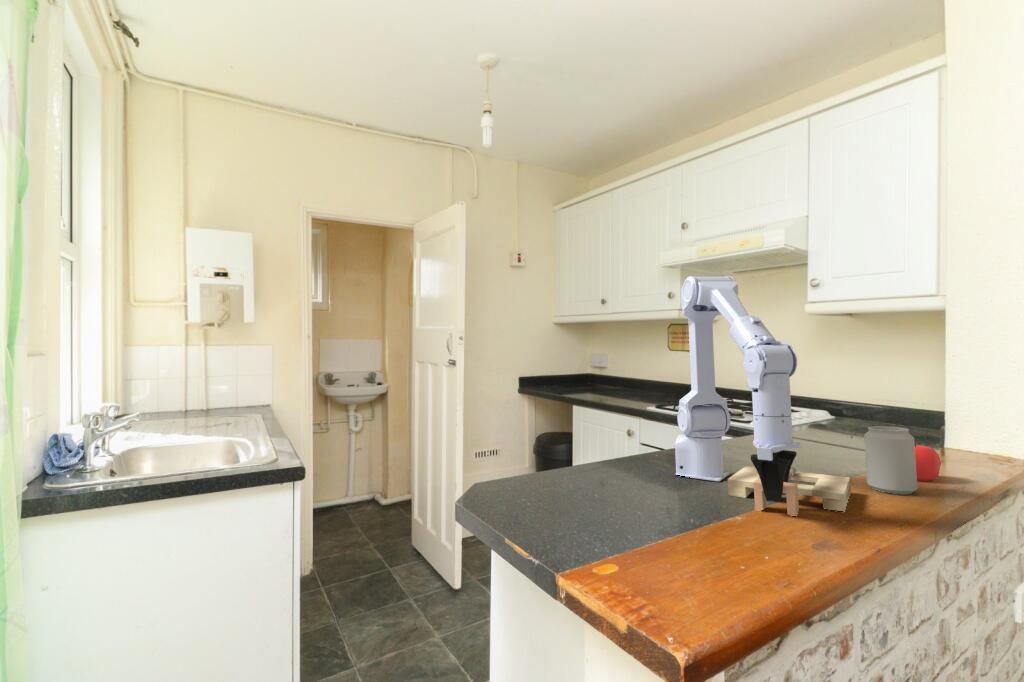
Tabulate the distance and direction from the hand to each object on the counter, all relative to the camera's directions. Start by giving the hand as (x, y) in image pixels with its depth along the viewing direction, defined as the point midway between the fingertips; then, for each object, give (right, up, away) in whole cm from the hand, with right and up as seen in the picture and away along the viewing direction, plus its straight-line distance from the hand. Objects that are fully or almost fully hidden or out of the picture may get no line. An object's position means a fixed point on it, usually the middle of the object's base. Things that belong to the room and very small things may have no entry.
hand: (776, 496), depth 78 cm
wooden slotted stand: (+8, -3, +10) cm, 13 cm away
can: (+28, -3, +11) cm, 31 cm away
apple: (+40, -3, +19) cm, 45 cm away
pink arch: (0, -2, 0) cm, 2 cm away
